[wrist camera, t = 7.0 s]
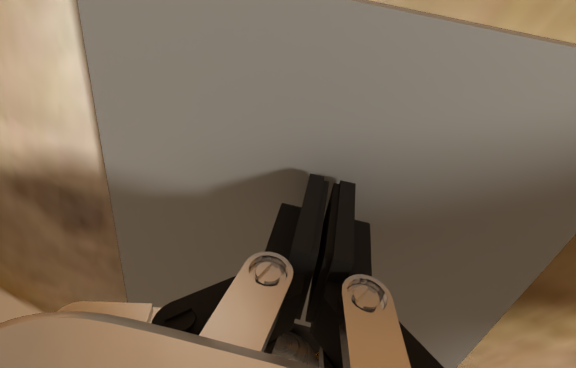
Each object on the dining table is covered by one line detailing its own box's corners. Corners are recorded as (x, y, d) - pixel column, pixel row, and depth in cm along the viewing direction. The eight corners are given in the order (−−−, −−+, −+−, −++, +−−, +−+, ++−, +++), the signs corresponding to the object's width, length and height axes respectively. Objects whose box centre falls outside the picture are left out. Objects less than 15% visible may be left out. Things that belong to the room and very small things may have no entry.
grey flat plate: (670, 63, 10) (715, 77, 9) (392, 411, 23) (394, 436, 22) (100, -56, 11) (67, -60, 10) (149, 344, 24) (138, 364, 23)
